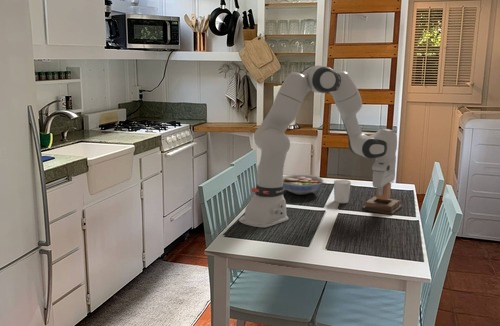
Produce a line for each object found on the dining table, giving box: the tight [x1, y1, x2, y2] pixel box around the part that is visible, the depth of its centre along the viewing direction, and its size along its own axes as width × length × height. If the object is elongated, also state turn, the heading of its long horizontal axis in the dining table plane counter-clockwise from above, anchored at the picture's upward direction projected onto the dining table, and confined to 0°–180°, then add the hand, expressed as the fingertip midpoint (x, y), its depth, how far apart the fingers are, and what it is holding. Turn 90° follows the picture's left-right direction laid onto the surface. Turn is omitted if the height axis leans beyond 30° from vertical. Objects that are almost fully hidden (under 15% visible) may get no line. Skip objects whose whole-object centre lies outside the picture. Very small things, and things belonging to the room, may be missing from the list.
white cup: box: [333, 179, 352, 204], centre depth 230 cm, size 8×8×10 cm
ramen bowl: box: [283, 173, 325, 196], centre depth 244 cm, size 25×23×8 cm
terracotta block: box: [375, 182, 392, 200], centre depth 219 cm, size 5×5×7 cm
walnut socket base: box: [361, 195, 403, 216], centre depth 221 cm, size 14×14×4 cm
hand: (383, 193), depth 219 cm, fingers closed on terracotta block, 5 cm apart
